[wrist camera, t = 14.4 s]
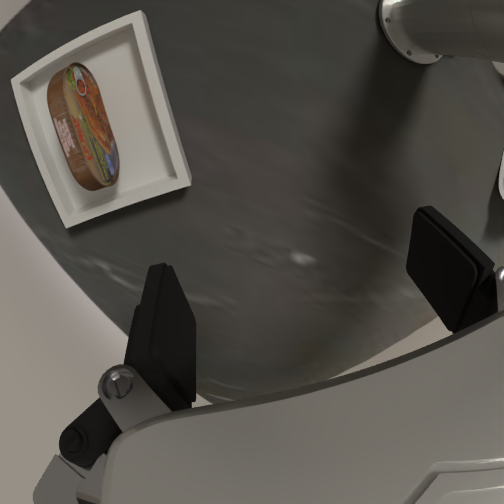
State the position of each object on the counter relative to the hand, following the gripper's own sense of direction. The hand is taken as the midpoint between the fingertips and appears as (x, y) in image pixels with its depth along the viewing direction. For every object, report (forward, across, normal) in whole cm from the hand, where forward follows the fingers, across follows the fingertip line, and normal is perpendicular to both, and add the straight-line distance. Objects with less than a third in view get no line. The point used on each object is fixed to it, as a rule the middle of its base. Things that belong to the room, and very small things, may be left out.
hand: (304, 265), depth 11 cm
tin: (+27, +16, -6) cm, 32 cm away
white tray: (+27, +16, -6) cm, 32 cm away
